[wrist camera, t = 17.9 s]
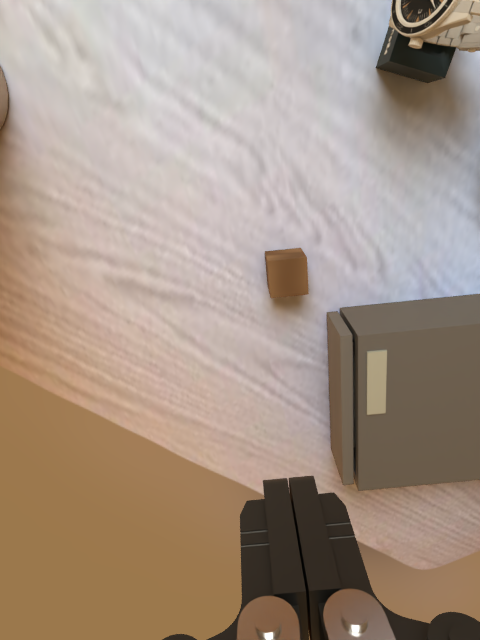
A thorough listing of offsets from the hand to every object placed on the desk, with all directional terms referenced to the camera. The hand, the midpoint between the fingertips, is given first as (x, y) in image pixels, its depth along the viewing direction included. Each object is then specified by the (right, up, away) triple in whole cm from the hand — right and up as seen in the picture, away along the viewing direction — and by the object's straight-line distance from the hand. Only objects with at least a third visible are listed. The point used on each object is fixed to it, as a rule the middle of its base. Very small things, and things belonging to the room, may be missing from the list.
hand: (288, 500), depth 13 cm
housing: (+18, 0, +32) cm, 36 cm away
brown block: (+3, +10, +27) cm, 29 cm away
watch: (+12, +27, +21) cm, 36 cm away
